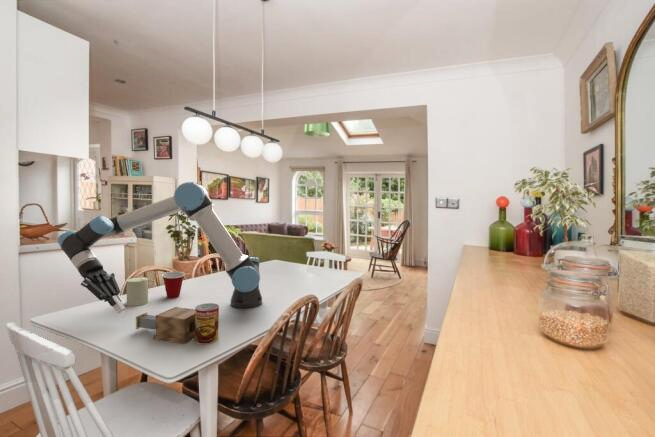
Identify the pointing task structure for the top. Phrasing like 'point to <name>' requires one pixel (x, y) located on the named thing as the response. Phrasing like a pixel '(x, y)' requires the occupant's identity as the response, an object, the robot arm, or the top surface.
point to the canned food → (206, 323)
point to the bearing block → (175, 325)
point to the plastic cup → (173, 283)
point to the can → (137, 291)
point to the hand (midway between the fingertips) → (121, 310)
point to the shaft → (147, 321)
